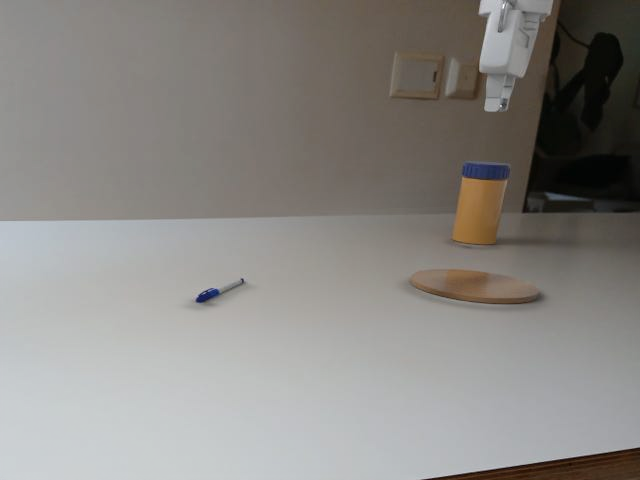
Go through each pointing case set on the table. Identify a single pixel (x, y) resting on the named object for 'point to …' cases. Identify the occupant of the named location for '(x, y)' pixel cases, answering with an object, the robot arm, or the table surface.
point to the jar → (479, 210)
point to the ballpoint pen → (217, 290)
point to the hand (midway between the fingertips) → (495, 111)
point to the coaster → (475, 286)
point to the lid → (486, 170)
